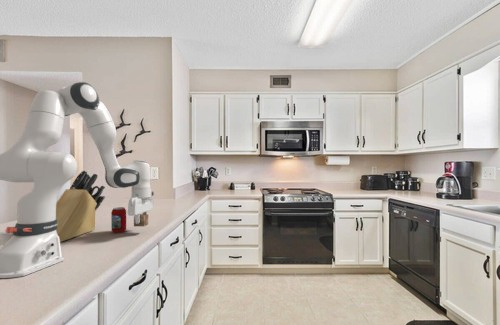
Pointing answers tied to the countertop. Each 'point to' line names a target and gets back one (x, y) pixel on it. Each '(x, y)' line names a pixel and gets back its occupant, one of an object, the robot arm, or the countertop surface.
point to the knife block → (78, 207)
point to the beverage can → (118, 219)
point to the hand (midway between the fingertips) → (141, 222)
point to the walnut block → (142, 220)
